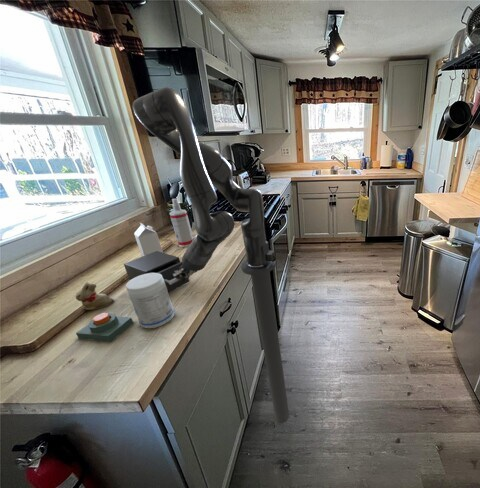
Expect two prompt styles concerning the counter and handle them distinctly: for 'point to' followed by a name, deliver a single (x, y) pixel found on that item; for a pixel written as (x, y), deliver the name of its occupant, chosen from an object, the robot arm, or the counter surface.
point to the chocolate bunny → (92, 297)
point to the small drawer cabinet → (148, 263)
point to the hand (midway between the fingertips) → (183, 278)
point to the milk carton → (147, 240)
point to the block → (105, 329)
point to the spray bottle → (181, 225)
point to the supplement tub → (150, 300)
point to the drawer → (171, 275)
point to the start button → (101, 318)
